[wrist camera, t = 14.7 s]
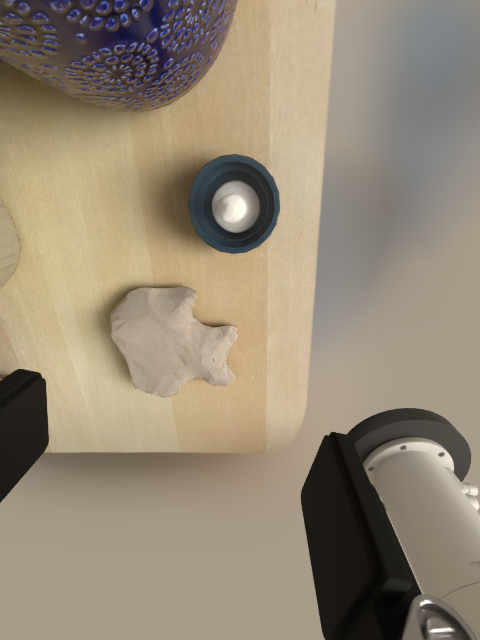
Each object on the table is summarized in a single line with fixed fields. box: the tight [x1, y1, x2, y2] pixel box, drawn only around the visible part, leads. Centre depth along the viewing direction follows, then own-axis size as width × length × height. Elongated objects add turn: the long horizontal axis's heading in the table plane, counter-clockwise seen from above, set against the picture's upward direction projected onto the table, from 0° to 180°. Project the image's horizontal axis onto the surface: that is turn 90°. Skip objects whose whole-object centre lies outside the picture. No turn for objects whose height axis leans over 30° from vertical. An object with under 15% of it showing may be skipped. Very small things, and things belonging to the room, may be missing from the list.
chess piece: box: [212, 180, 261, 233], centre depth 24 cm, size 5×5×10 cm
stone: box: [110, 287, 238, 398], centre depth 34 cm, size 14×4×15 cm
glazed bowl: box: [188, 154, 280, 254], centre depth 27 cm, size 8×8×4 cm
